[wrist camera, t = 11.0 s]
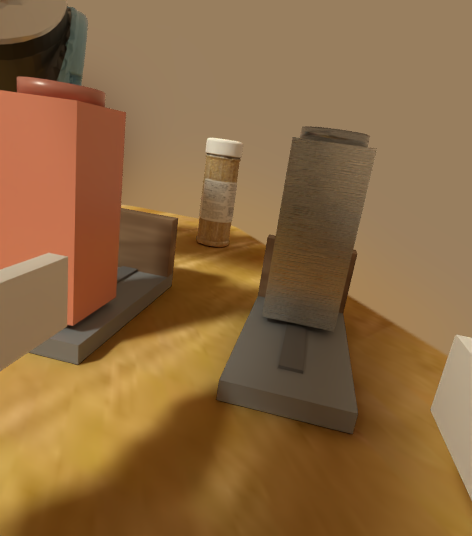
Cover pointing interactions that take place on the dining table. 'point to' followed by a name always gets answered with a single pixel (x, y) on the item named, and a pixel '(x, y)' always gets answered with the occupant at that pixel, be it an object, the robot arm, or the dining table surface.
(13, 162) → the orange tall prism
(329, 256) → the grey metal prism
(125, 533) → the dining table surface
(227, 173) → the sprinkles bottle
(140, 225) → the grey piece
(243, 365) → the steel rail
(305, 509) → the dining table surface
